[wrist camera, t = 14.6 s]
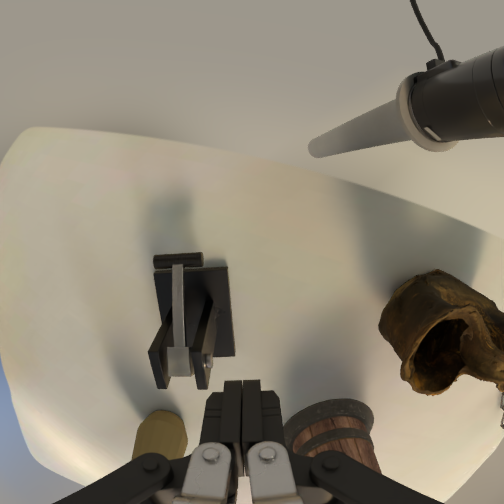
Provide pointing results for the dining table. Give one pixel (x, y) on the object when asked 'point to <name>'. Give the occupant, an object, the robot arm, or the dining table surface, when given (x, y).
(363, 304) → the dining table surface
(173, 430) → the squeeze bottle
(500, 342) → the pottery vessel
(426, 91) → the robot arm
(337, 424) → the tankard
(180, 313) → the lever
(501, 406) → the geometric lantern
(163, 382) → the bracket
